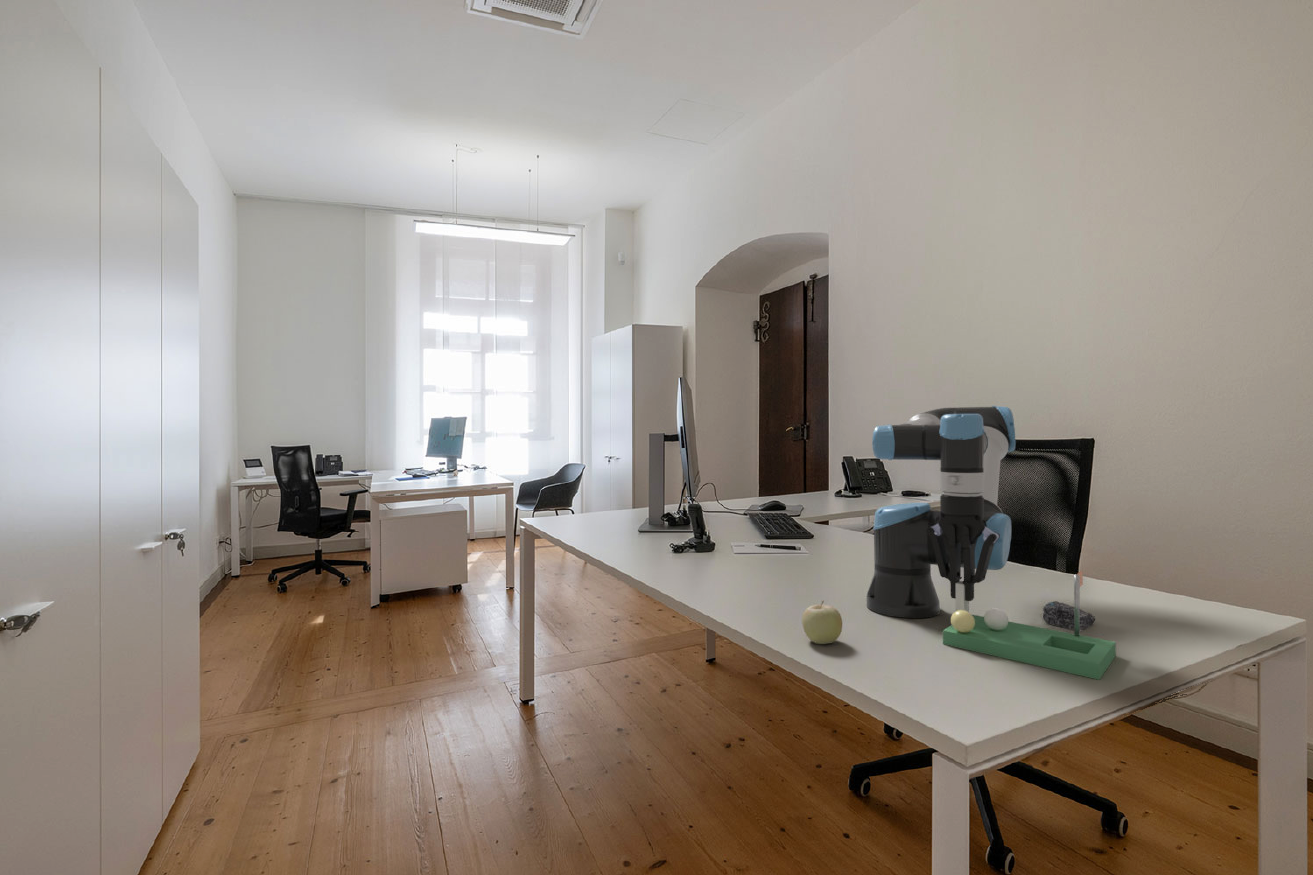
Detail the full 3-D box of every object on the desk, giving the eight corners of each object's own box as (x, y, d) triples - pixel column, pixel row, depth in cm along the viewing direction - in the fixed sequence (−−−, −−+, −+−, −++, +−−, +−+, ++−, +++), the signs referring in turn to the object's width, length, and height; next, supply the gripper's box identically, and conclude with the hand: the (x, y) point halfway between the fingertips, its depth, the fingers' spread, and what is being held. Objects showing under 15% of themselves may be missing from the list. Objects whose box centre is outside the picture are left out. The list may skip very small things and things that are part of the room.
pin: (1073, 635, 112) (1073, 574, 112) (1079, 630, 115) (1079, 570, 115) (1079, 636, 111) (1079, 575, 111) (1084, 631, 114) (1084, 571, 114)
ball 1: (947, 632, 114) (947, 610, 114) (955, 627, 117) (955, 606, 117) (970, 637, 112) (970, 615, 112) (978, 631, 114) (978, 610, 114)
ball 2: (980, 629, 116) (980, 608, 115) (988, 625, 118) (987, 604, 118) (1004, 634, 113) (1004, 612, 113) (1011, 629, 116) (1011, 608, 115)
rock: (1103, 624, 127) (1103, 603, 127) (1079, 633, 121) (1079, 611, 121) (1062, 614, 133) (1062, 595, 133) (1038, 623, 128) (1038, 602, 128)
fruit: (849, 647, 115) (849, 603, 114) (812, 650, 113) (811, 606, 113) (831, 633, 122) (831, 593, 122) (795, 636, 121) (795, 595, 121)
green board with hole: (942, 643, 116) (942, 630, 116) (969, 626, 125) (969, 613, 125) (1099, 679, 99) (1099, 663, 99) (1115, 656, 108) (1115, 641, 108)
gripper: (919, 493, 121) (920, 613, 122) (992, 498, 112) (992, 628, 112) (934, 490, 127) (935, 605, 127) (1005, 494, 117) (1005, 619, 118)
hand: (962, 616), depth 120 cm, fingers closed
